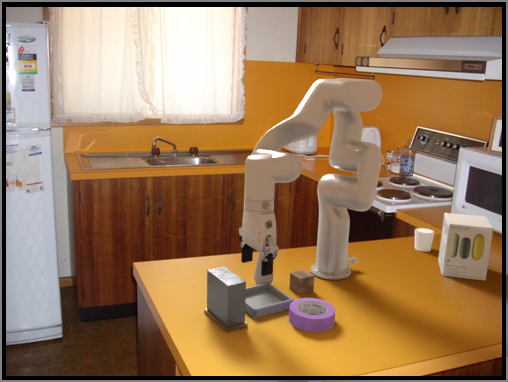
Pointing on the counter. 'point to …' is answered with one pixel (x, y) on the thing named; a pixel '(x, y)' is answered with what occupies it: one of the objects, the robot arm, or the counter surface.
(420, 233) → the shot glass
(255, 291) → the tray
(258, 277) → the salt shaker
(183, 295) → the counter surface
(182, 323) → the counter surface
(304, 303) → the masking tape
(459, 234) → the supplement box
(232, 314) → the unit
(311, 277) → the walnut cube
